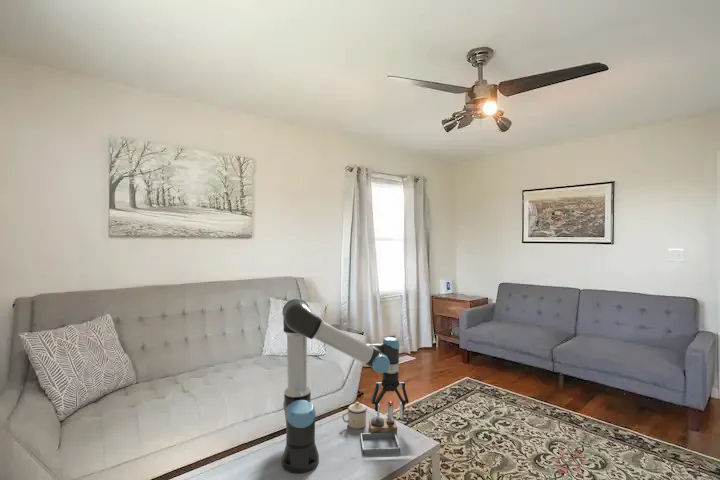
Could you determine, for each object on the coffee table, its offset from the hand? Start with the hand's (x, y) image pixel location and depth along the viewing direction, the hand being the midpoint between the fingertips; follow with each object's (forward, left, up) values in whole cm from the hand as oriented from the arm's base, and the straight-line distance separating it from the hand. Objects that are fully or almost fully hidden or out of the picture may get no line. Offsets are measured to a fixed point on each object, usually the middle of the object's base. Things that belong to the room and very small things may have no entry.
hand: (389, 417), depth 185 cm
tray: (-6, -11, -7) cm, 15 cm away
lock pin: (0, 0, -6) cm, 6 cm away
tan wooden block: (-3, 0, -7) cm, 8 cm away
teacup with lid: (-16, +8, -8) cm, 19 cm away
